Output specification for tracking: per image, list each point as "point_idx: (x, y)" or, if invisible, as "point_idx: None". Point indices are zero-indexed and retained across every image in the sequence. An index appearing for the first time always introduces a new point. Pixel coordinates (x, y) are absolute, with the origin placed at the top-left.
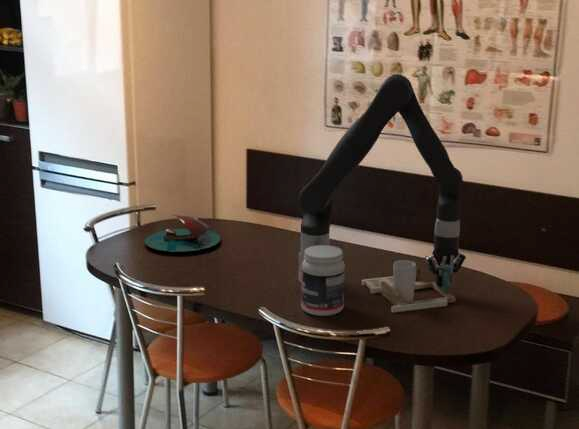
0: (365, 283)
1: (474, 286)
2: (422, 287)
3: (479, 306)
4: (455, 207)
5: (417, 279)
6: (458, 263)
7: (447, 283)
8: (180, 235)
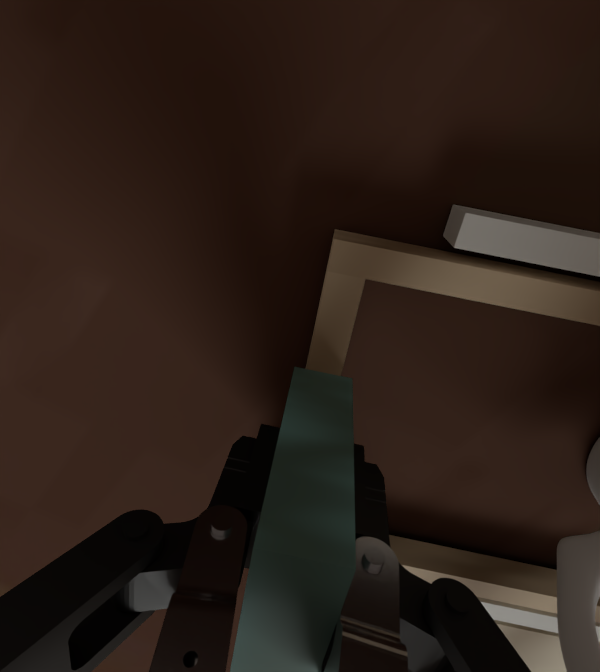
0: None
1: (7, 406)
2: None
3: (174, 23)
4: None
5: None
6: (41, 643)
7: (316, 426)
8: None
